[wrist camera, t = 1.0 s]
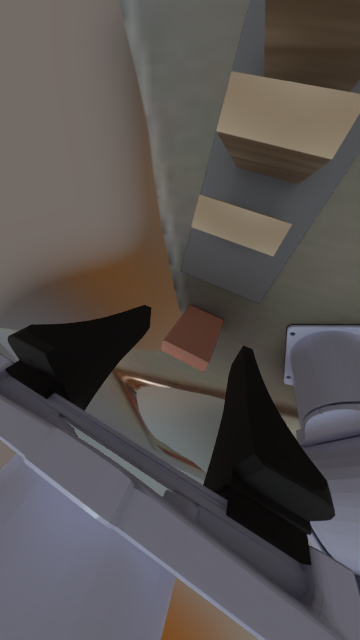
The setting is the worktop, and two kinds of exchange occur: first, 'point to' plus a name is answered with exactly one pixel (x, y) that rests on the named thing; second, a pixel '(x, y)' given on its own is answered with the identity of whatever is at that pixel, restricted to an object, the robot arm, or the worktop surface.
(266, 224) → the domino
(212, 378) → the worktop surface
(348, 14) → the domino
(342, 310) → the worktop surface
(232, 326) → the worktop surface
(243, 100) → the domino
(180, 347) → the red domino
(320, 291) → the worktop surface
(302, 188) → the mat
